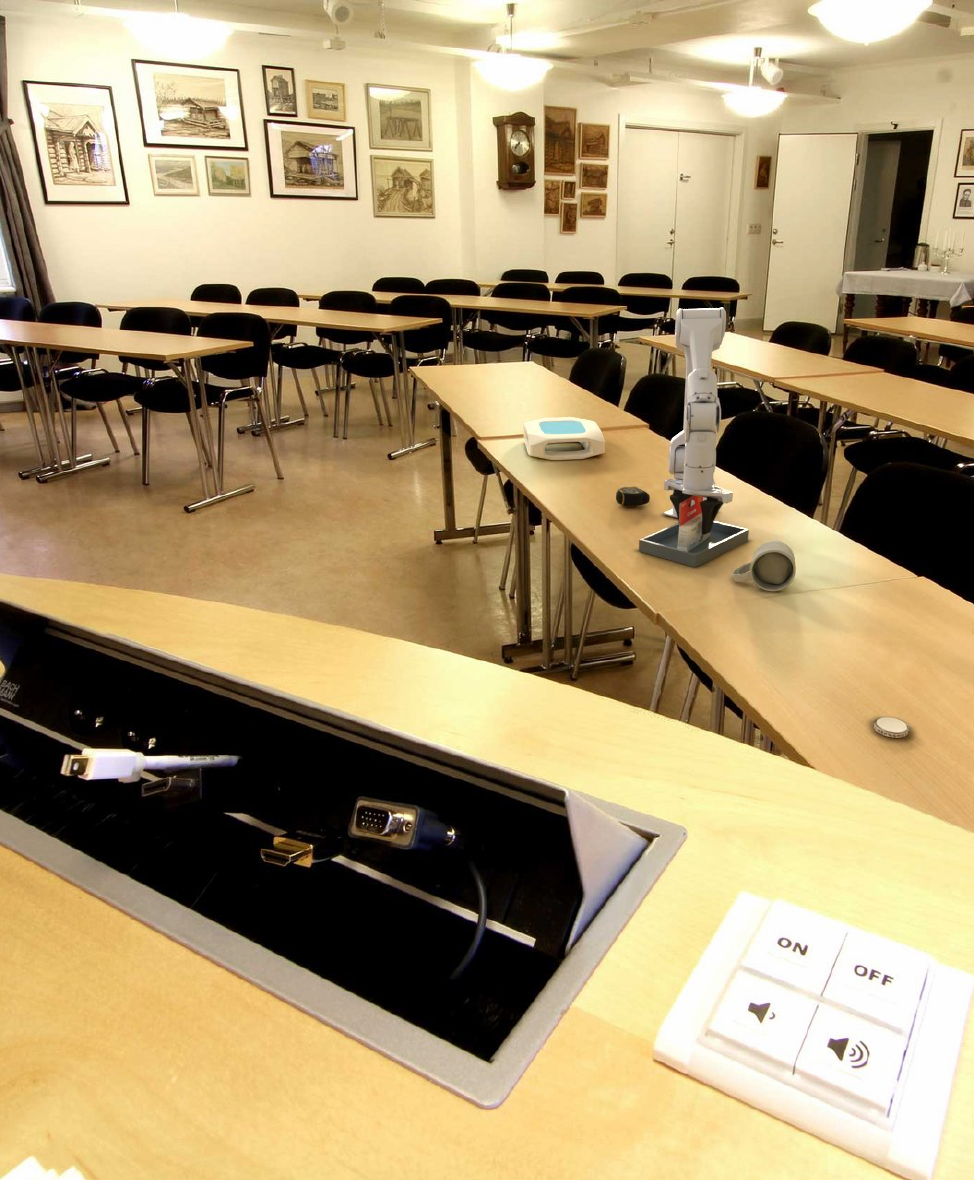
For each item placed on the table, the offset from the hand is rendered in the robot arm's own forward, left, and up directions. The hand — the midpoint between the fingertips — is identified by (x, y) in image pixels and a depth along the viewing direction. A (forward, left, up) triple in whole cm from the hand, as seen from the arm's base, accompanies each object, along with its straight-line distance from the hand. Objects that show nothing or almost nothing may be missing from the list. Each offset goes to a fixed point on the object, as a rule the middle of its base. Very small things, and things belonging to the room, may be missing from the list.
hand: (694, 530), depth 169 cm
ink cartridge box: (0, 0, -3) cm, 3 cm away
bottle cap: (+40, +56, -3) cm, 69 cm away
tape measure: (-14, -26, -4) cm, 30 cm away
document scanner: (-44, -75, -4) cm, 87 cm away
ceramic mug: (+8, +20, -4) cm, 22 cm away
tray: (0, 0, -3) cm, 3 cm away
